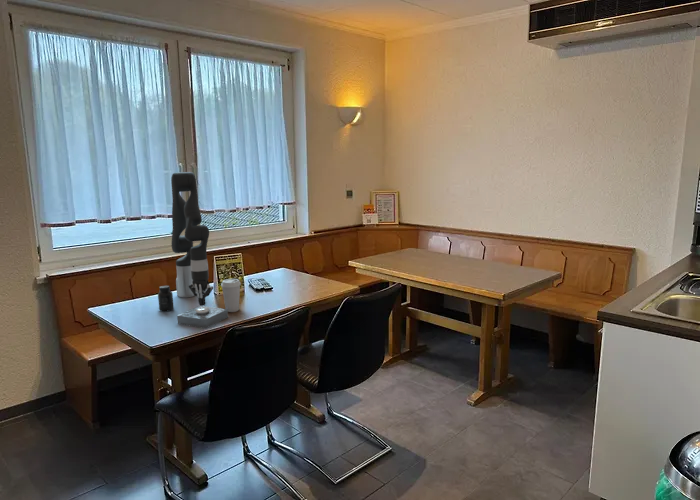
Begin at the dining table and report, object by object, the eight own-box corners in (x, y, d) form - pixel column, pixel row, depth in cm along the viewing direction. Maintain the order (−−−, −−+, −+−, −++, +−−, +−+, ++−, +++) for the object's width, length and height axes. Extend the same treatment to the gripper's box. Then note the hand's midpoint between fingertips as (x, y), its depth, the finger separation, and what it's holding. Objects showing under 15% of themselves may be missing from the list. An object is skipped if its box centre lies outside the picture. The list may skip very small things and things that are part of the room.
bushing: (193, 320, 229) (192, 310, 228) (202, 316, 235) (201, 306, 234) (204, 322, 227) (203, 311, 226) (212, 318, 232) (212, 307, 231)
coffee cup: (232, 314, 239) (230, 284, 236) (218, 311, 244) (216, 281, 241) (246, 308, 247) (244, 279, 244) (232, 306, 252) (230, 277, 249)
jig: (177, 323, 227) (177, 315, 226) (201, 313, 241) (200, 305, 240) (205, 328, 220) (205, 319, 220) (228, 317, 235) (227, 309, 234)
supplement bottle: (176, 308, 249) (174, 285, 247) (167, 312, 243) (165, 288, 241) (165, 307, 252) (163, 284, 249) (156, 311, 245) (154, 287, 243)
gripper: (182, 269, 225) (185, 306, 229) (205, 271, 220) (208, 309, 223) (193, 266, 232) (196, 301, 235) (216, 268, 227) (219, 304, 230)
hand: (202, 305), depth 229 cm, fingers closed
